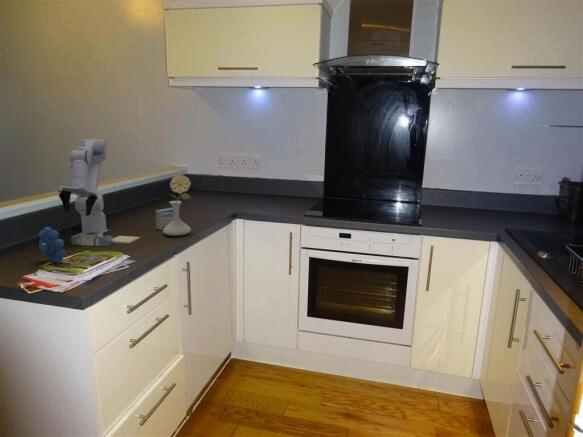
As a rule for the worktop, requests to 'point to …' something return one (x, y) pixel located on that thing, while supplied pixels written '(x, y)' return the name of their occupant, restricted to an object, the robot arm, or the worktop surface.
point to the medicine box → (163, 218)
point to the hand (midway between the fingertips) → (77, 213)
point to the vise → (99, 242)
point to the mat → (125, 239)
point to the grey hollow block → (90, 238)
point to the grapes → (51, 245)
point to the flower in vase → (176, 225)
